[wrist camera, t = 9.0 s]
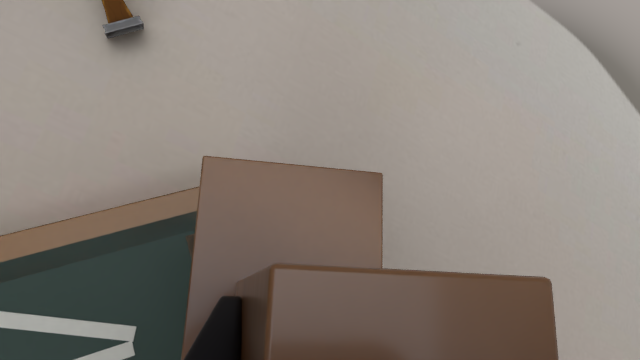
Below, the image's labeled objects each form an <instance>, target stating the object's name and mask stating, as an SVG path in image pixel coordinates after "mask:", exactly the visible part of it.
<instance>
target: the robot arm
mask: <svg viewBox="0 0 640 360" xmlns="http://www.w3.org/2000/svg"><path fill="white" fill-rule="evenodd" d="M241 343H242V298H241V297H240V296H222V297H221V298H220V299H219V300H218V302H217V304H216V306H215V307H214V309H213V311H212V312H211V314H210V316H209V317H208V319H207V321H206V322H205V324H204V326H203V328H202V329H201V331H200V333H199V334H198V336H197V338H196V339H195V341H194V343H193V344H192V346H191V348H190V350H189V351H188V353H187V355H186V356H185V358H184V360H240V358H241Z"/></svg>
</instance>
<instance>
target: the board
mask: <svg viewBox="0 0 640 360" xmlns="http://www.w3.org/2000/svg"><path fill="white" fill-rule="evenodd" d="M199 188H200V187H196V188H192V189H187V190H183V191H179V192H175V193H171V194H167V195H163V196H159V197H155V198H151V199H147V200H143V201H139V202H135V203H131V204H127V205H123V206H119V207H115V208H111V209H107V210H103V211H99V212H95V213H91V214H87V215H83V216H79V217H75V218H71V219H67V220H63V221H59V222H55V223H51V224H47V225H43V226H39V227H34V228H30V229H26V230H22V231H18V232H14V233H10V234H6V235H2V236H0V360H181V355H182V345H183V336H184V327H185V318H186V308H187V299H188V290H189V280H190V271H191V262H192V253H193V243H194V234H195V225H196V215H197V206H198V197H199Z"/></svg>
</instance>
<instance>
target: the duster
mask: <svg viewBox="0 0 640 360" xmlns="http://www.w3.org/2000/svg"><path fill="white" fill-rule="evenodd" d="M382 183H383V175H382V173H377V172H366V171H356V170H346V169H335V168H325V167H315V166H304V165H294V164H283V163H273V162H263V161H252V160H242V159H232V158H221V157H211V156H203V160H202V169H201V178H200V188H199V197H198V206H197V215H196V225H195V234H194V243H193V253H192V262H191V271H190V280H189V290H188V299H187V308H186V318H185V327H184V336H183V345H182V355H181V360H184V358H185V356H186V355H187V353H188V351H189V350H190V348H191V346H192V344H193V343H194V341H195V339H196V338H197V336H198V334H199V333H200V331H201V329H202V328H203V326H204V324H205V322H206V321H207V319H208V317H209V316H210V314H211V312H212V311H213V309H214V307H215V306H216V304H217V302H218V300H219V299H220V298H221V297H222V296H240V297H241V298H242V343H241V358H240V360H558V349H557V338H556V327H555V316H554V305H553V293H552V283H551V281H550V279H547V278H545V277H536V276H516V275H497V274H478V273H458V272H439V271H420V270H401V269H382Z"/></svg>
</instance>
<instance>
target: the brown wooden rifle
mask: <svg viewBox="0 0 640 360" xmlns="http://www.w3.org/2000/svg"><path fill="white" fill-rule="evenodd" d="M102 3H103V6H104V9H105V12H106V16H107V20H108V24H106V25H103V27H104V29H105V35H106V37H107V38H112V37H116V36H119V35H123V34H127V33H130V32H134V31H138V30H142V29H143V28H144V23H143V22H142V21H141V19H140V16H136V17H133V16H132V14H131V13H130V11H129V9H128V8H127V6H126V4H125V2H124V1H123V0H102Z"/></svg>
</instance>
